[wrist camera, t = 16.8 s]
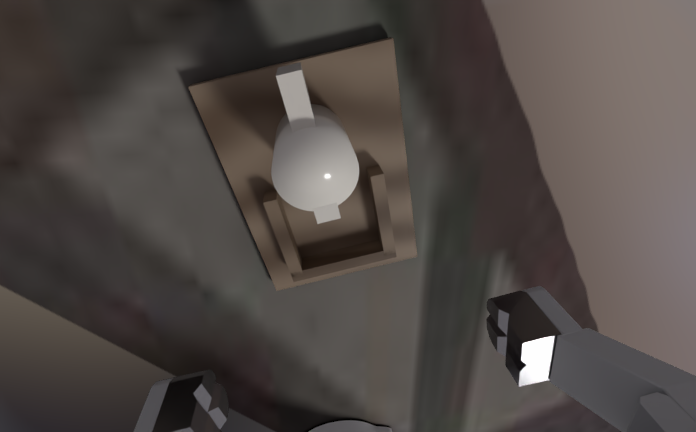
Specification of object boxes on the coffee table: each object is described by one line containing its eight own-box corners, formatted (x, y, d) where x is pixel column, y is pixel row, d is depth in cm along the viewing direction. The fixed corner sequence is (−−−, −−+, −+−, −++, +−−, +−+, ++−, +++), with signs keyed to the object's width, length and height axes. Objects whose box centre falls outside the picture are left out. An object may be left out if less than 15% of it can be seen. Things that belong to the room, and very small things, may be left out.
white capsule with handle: (354, 172, 32) (368, 211, 26) (290, 188, 32) (290, 230, 26) (328, 49, 26) (338, 63, 20) (250, 68, 26) (238, 87, 20)
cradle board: (414, 251, 39) (423, 268, 36) (277, 284, 39) (276, 304, 36) (390, 37, 27) (400, 40, 24) (191, 84, 27) (181, 92, 24)
